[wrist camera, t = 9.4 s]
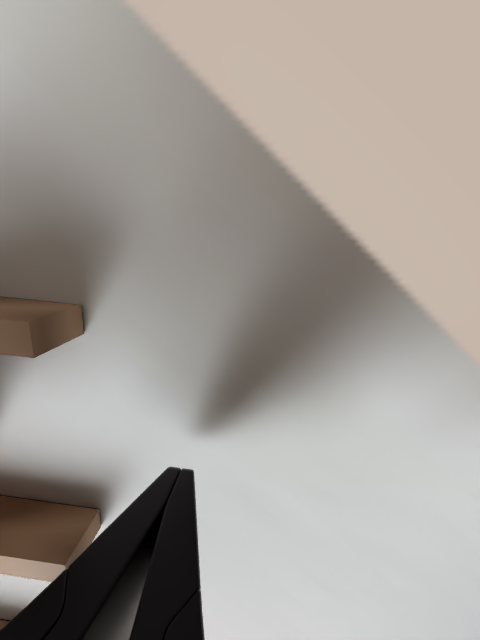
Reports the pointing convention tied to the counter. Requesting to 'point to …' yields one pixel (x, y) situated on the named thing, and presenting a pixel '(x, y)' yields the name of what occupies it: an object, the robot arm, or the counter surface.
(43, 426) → the counter surface
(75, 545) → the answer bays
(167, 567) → the robot arm
